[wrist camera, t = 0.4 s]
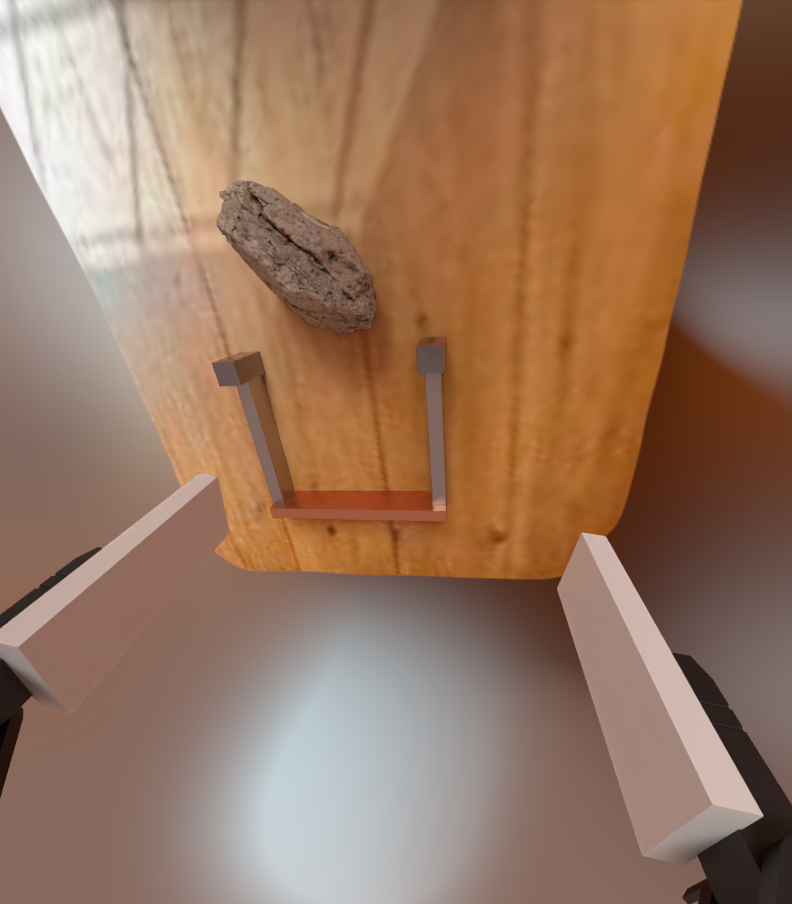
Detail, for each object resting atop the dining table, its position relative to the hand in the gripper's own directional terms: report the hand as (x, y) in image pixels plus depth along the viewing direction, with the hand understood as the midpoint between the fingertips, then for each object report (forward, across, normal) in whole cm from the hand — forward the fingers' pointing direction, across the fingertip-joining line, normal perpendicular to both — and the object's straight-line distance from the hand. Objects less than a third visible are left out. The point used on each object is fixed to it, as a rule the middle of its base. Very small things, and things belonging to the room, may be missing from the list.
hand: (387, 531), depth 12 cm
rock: (+26, -12, +8) cm, 30 cm away
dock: (+26, -9, -9) cm, 29 cm away
